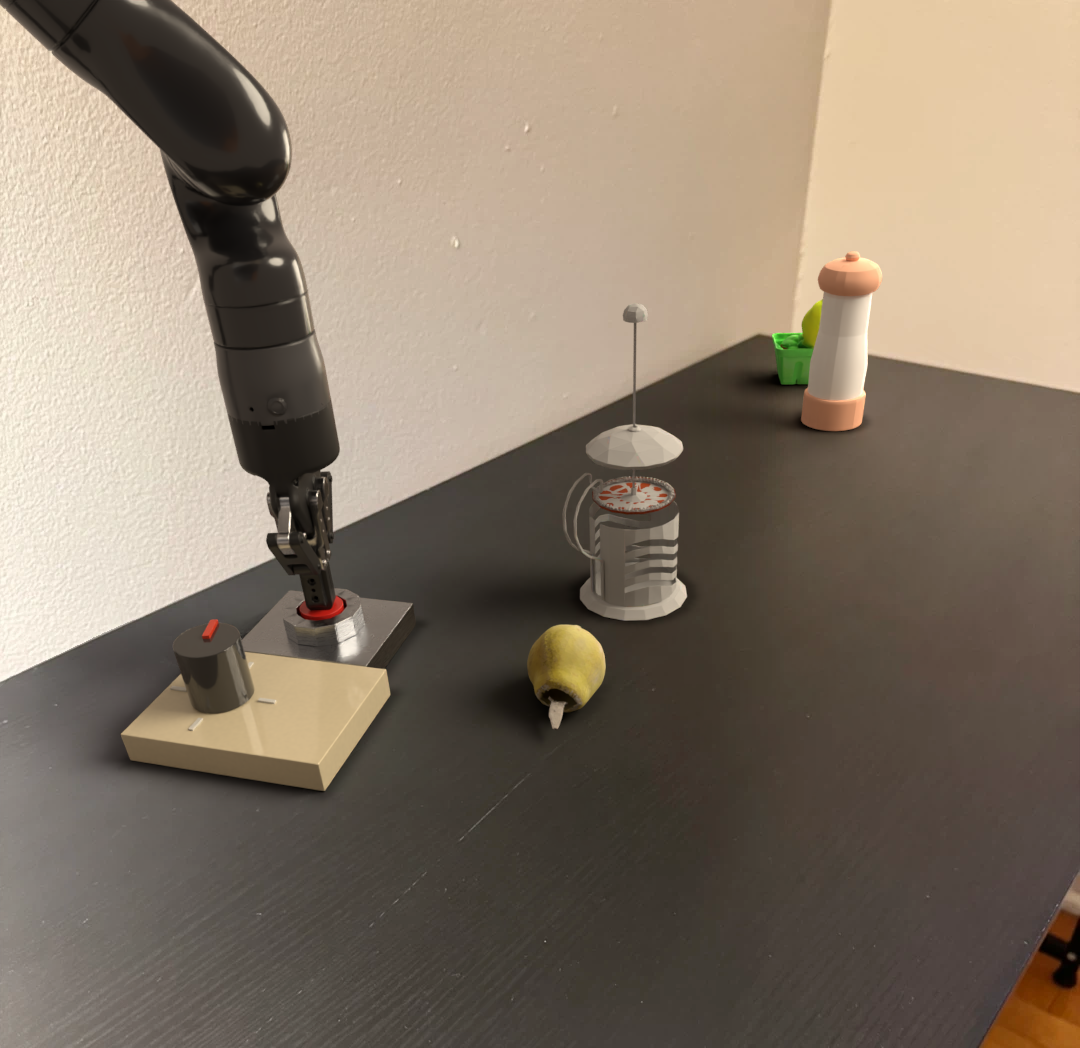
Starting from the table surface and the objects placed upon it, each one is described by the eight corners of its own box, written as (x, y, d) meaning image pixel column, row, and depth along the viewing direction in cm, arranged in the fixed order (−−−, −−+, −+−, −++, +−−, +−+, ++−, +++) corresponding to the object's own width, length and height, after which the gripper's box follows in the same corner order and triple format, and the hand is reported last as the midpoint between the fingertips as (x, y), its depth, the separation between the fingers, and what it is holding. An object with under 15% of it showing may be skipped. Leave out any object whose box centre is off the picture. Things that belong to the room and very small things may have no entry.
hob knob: (245, 712, 73) (228, 652, 69) (182, 714, 73) (162, 655, 70) (261, 676, 77) (245, 617, 73) (200, 678, 77) (182, 620, 74)
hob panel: (130, 760, 73) (119, 732, 71) (214, 671, 82) (206, 645, 80) (324, 791, 69) (317, 762, 67) (391, 694, 78) (386, 667, 76)
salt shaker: (872, 427, 118) (899, 255, 107) (816, 434, 117) (837, 262, 106) (845, 407, 124) (868, 242, 113) (791, 414, 123) (808, 248, 112)
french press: (709, 598, 88) (728, 304, 73) (602, 639, 83) (598, 334, 68) (644, 557, 95) (648, 280, 80) (542, 592, 90) (526, 307, 75)
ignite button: (296, 632, 82) (291, 614, 81) (315, 610, 85) (311, 592, 84) (335, 636, 81) (331, 618, 80) (353, 614, 84) (349, 596, 83)
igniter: (238, 671, 82) (227, 630, 80) (294, 611, 90) (285, 572, 87) (370, 688, 79) (362, 646, 77) (416, 624, 87) (410, 584, 84)
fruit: (514, 739, 73) (524, 650, 80) (592, 756, 74) (595, 666, 80) (532, 685, 69) (541, 596, 76) (614, 703, 69) (616, 614, 76)
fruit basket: (851, 369, 136) (863, 282, 129) (861, 390, 129) (875, 299, 122) (767, 370, 137) (775, 284, 130) (773, 391, 130) (782, 302, 123)
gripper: (250, 372, 77) (294, 569, 87) (200, 434, 66) (258, 650, 77) (345, 368, 76) (378, 566, 87) (310, 429, 66) (353, 647, 76)
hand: (321, 605), depth 82 cm, fingers closed
